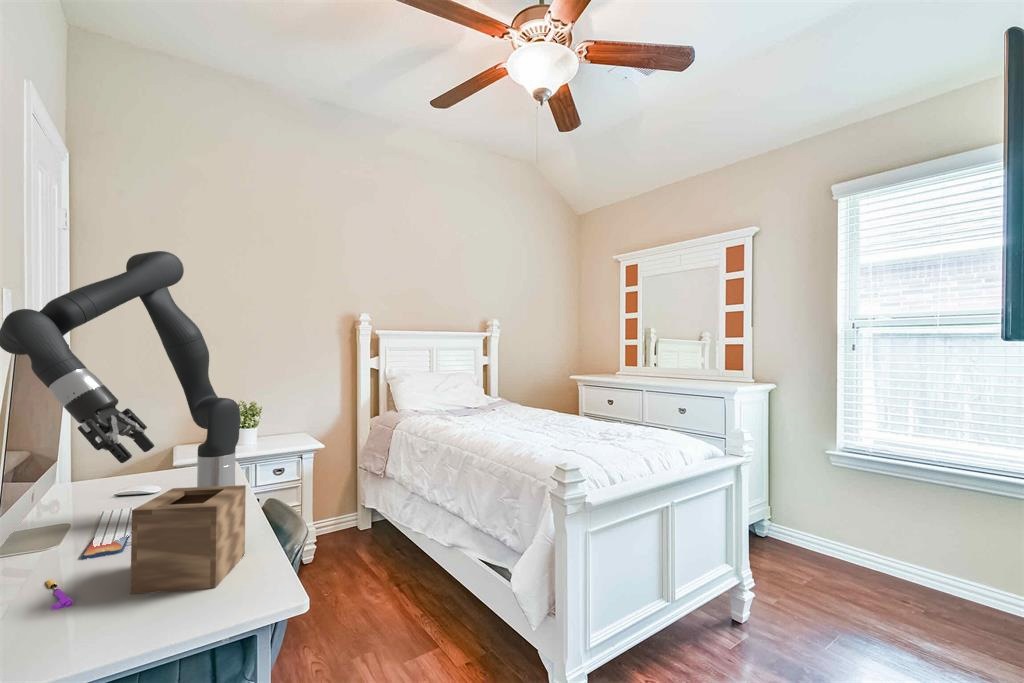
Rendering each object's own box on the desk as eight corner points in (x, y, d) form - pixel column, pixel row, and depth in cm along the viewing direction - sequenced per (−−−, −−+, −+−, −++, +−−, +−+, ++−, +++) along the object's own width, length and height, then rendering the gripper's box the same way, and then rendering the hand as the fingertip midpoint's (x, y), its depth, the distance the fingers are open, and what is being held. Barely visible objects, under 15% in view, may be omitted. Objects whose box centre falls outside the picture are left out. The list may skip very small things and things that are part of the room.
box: (172, 560, 106) (173, 488, 107) (244, 555, 109) (245, 485, 109) (130, 594, 92) (131, 510, 92) (215, 587, 94) (216, 506, 94)
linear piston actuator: (74, 605, 88) (52, 581, 97) (72, 599, 88) (50, 576, 97) (55, 615, 86) (34, 589, 95) (53, 609, 85) (32, 584, 95)
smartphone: (132, 534, 123) (132, 529, 123) (122, 553, 110) (122, 549, 110) (94, 540, 119) (94, 535, 119) (80, 561, 106) (80, 556, 106)
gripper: (76, 388, 93) (135, 452, 95) (121, 380, 106) (171, 435, 109) (41, 413, 92) (102, 476, 94) (90, 401, 105) (142, 456, 108)
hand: (139, 454), depth 101 cm, fingers open, 8 cm apart
